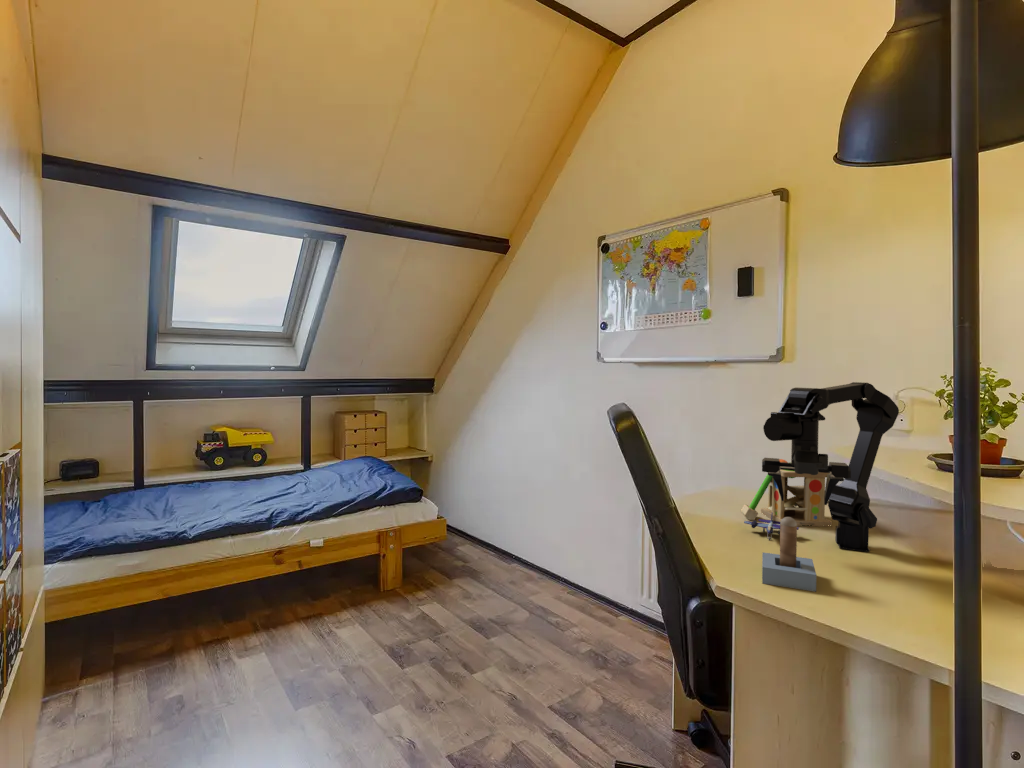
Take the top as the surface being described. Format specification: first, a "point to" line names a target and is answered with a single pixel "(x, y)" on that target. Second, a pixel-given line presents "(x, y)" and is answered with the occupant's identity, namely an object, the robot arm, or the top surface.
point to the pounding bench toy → (792, 499)
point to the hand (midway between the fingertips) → (803, 502)
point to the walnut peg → (788, 542)
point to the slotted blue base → (788, 573)
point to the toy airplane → (766, 525)
